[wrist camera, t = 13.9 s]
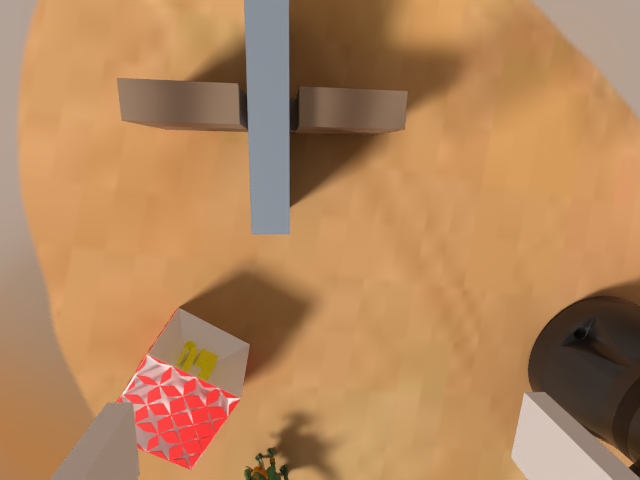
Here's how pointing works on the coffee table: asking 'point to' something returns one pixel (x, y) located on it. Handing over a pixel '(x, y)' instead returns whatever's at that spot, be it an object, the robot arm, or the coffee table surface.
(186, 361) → the red patterned cube
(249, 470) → the figurine
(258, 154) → the grey slotted plate
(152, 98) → the walnut slotted upright
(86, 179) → the coffee table surface
